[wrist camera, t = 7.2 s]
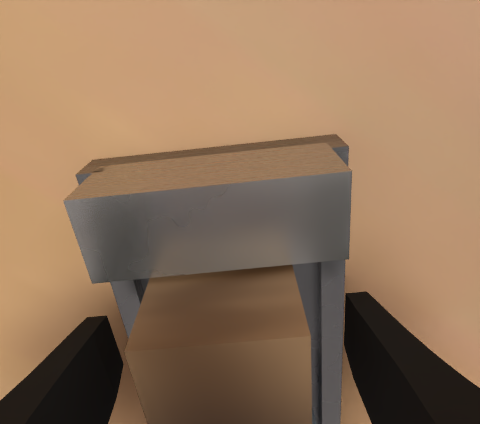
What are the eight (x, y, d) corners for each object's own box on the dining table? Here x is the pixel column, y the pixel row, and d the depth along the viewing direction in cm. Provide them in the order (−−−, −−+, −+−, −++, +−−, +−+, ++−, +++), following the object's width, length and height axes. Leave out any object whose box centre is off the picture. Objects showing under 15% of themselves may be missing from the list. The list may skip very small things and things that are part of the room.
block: (281, 225, 12) (311, 336, 8) (286, 316, 14) (312, 450, 9) (164, 235, 12) (124, 351, 8) (183, 325, 14) (160, 462, 9)
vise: (336, 134, 12) (373, 168, 8) (331, 452, 19) (350, 531, 16) (92, 160, 12) (43, 202, 9) (181, 463, 19) (172, 544, 16)
